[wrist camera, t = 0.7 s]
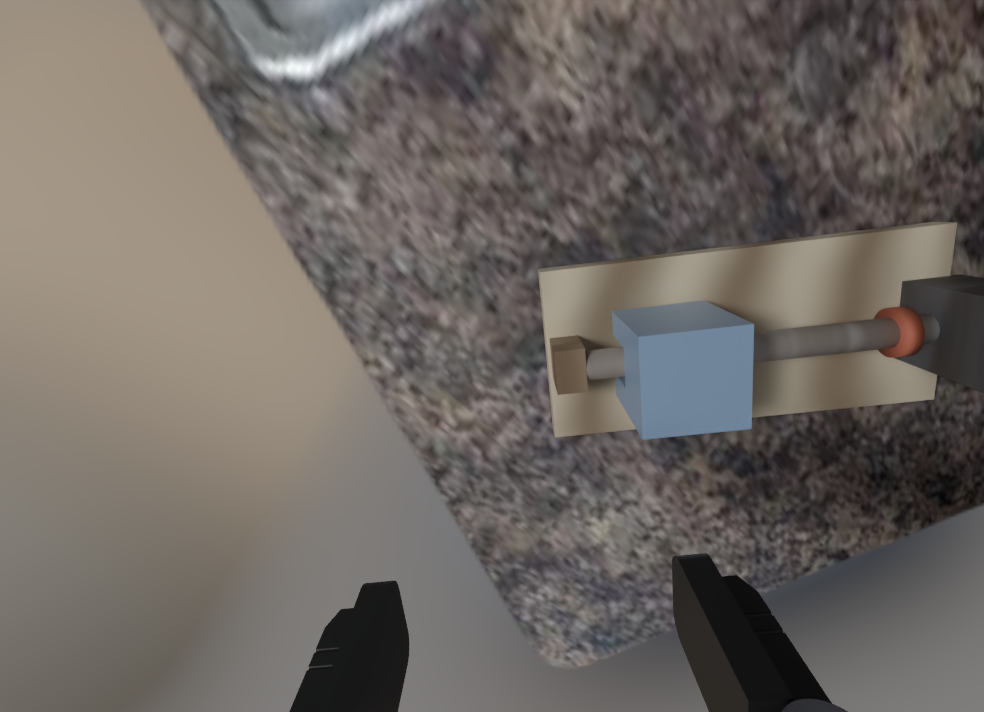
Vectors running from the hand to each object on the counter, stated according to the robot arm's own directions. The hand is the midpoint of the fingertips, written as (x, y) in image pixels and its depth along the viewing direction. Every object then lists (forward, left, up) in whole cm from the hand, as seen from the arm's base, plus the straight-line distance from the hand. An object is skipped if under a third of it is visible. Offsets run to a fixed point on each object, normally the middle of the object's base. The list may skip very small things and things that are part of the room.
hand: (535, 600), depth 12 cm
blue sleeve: (-8, 0, -18) cm, 20 cm away
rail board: (-13, 0, -20) cm, 24 cm away
